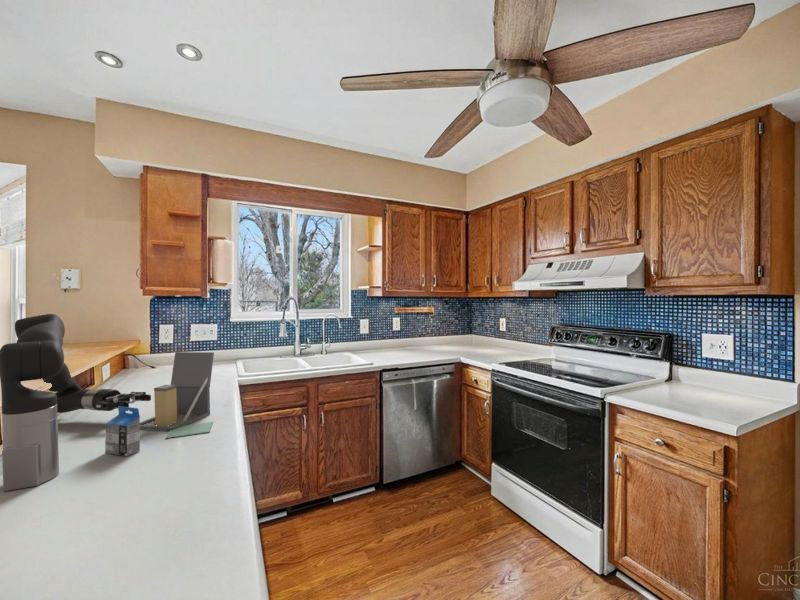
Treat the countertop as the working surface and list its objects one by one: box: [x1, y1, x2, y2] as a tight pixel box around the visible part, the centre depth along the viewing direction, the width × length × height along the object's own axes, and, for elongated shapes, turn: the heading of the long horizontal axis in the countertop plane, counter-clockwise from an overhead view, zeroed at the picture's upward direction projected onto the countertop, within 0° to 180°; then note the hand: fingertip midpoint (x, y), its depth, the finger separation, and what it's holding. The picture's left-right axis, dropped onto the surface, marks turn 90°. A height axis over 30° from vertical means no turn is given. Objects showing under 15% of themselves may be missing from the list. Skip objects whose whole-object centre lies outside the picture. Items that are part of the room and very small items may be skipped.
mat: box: [165, 421, 214, 439], centre depth 116 cm, size 10×12×1 cm
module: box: [153, 384, 178, 426], centre depth 123 cm, size 5×5×13 cm
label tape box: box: [104, 406, 141, 457], centre depth 100 cm, size 9×4×12 cm, turn 72°
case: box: [140, 351, 215, 431], centre depth 127 cm, size 20×16×23 cm
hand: (139, 401), depth 125 cm, fingers open, 8 cm apart
